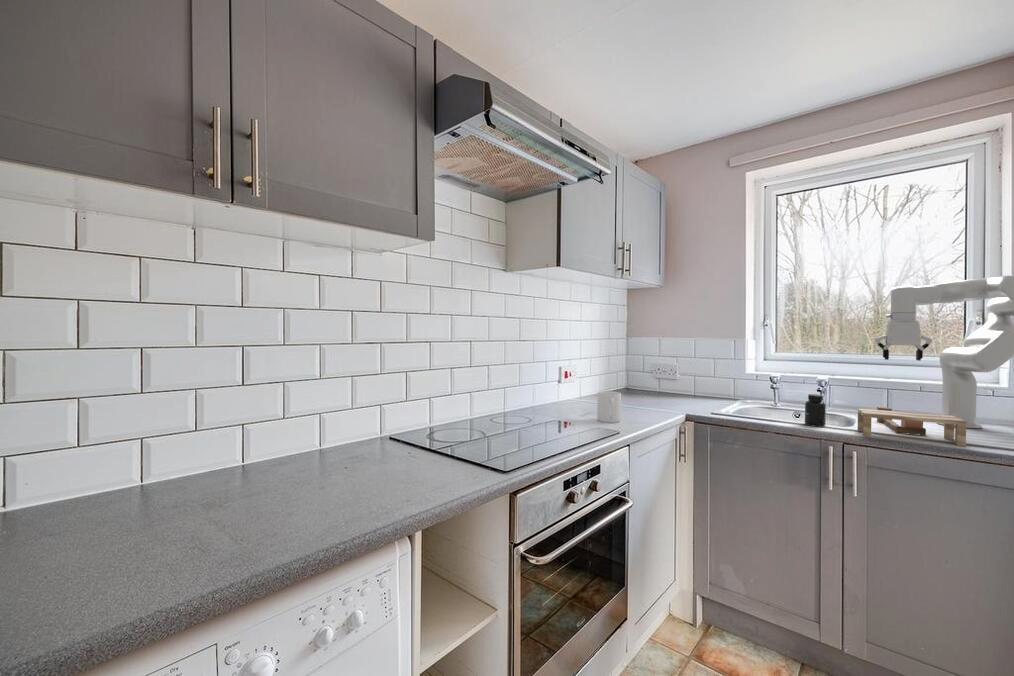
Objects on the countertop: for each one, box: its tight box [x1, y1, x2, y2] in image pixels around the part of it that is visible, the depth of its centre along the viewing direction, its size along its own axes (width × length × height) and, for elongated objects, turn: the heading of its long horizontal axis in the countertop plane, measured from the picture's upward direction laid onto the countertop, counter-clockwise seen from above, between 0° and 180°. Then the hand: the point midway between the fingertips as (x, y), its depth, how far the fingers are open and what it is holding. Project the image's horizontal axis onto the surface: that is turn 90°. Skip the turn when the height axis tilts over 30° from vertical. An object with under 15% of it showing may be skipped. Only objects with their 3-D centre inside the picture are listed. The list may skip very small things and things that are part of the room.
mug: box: [596, 390, 622, 424], centre depth 178 cm, size 10×12×12 cm
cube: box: [900, 420, 924, 428], centre depth 162 cm, size 5×5×5 cm
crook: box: [876, 406, 927, 436], centre depth 170 cm, size 26×9×6 cm, turn 150°
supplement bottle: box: [804, 393, 827, 427], centre depth 174 cm, size 7×7×12 cm
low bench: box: [857, 408, 967, 447], centre depth 153 cm, size 12×26×8 cm, turn 60°
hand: (902, 359), depth 174 cm, fingers open, 9 cm apart
